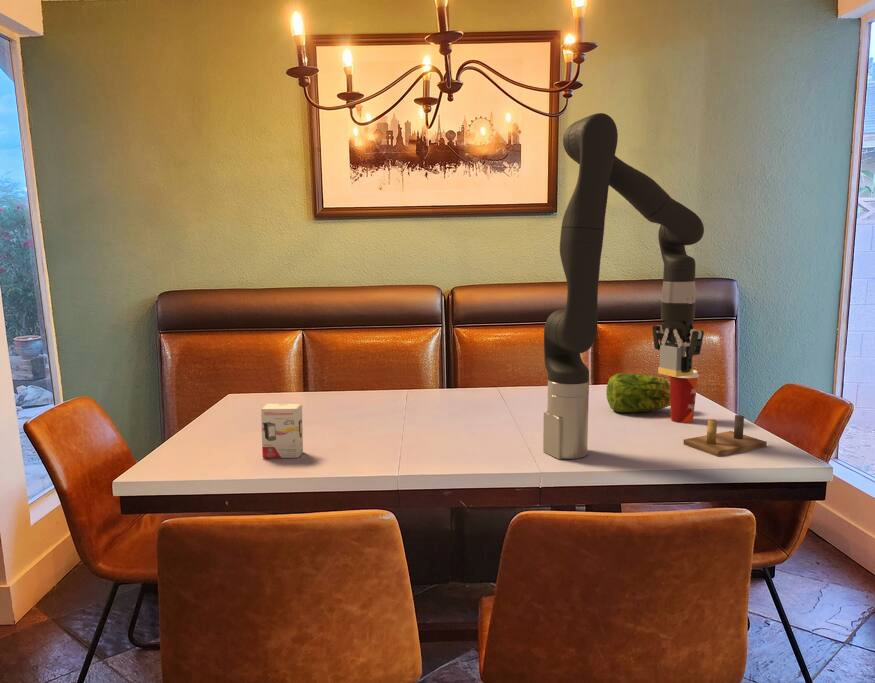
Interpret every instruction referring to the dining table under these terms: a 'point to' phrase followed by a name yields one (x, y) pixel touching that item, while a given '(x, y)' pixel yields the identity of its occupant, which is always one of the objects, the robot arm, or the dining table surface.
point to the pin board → (725, 439)
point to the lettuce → (637, 392)
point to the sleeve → (671, 361)
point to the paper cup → (683, 397)
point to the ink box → (282, 431)
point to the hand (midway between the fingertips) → (675, 369)
